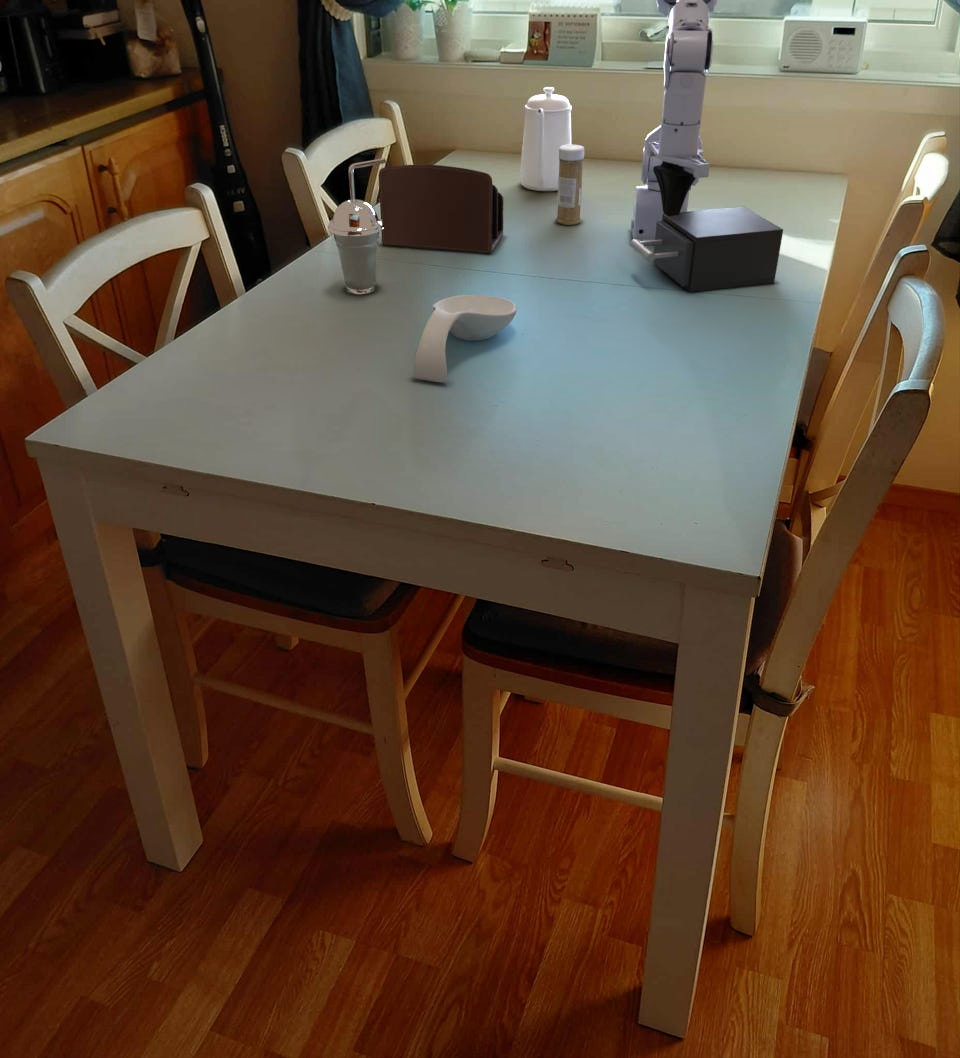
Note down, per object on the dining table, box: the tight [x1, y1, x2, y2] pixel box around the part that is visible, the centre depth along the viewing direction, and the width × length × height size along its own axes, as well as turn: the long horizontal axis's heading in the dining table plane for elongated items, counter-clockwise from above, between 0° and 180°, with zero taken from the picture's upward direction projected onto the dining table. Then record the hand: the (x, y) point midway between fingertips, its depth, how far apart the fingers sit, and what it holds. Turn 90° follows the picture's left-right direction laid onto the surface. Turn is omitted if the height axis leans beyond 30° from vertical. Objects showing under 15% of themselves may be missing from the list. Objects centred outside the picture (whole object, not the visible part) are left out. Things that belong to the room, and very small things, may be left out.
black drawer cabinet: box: [662, 206, 784, 293], centre depth 157 cm, size 15×13×9 cm
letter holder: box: [378, 164, 505, 255], centre depth 169 cm, size 10×20×14 cm, turn 76°
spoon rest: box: [412, 294, 518, 383], centre depth 133 cm, size 24×12×7 cm, turn 162°
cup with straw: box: [327, 157, 387, 296], centre depth 148 cm, size 8×9×20 cm
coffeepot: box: [519, 86, 573, 192], centre depth 197 cm, size 11×25×19 cm, turn 168°
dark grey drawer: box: [629, 221, 694, 287], centre depth 156 cm, size 19×11×7 cm, turn 105°
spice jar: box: [556, 144, 585, 226], centre depth 178 cm, size 5×5×14 cm
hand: (671, 214), depth 151 cm, fingers closed
